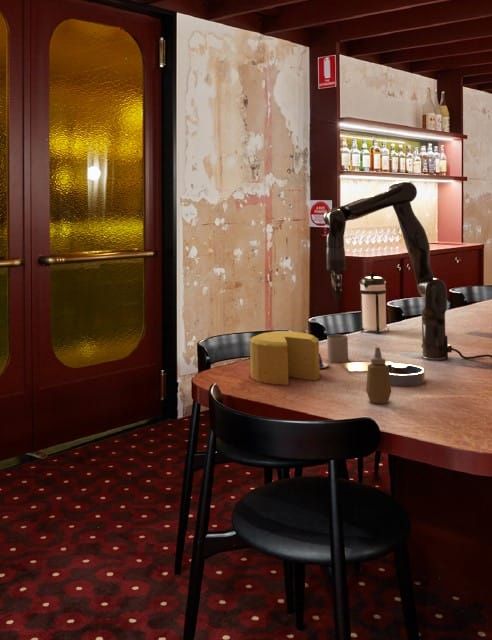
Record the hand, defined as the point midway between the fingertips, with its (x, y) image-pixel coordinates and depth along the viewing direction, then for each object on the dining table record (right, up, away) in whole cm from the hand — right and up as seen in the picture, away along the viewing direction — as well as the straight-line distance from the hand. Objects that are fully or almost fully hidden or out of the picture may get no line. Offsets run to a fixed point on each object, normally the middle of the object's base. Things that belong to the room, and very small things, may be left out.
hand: (337, 298), depth 292 cm
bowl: (+17, -26, -30) cm, 43 cm away
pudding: (-10, -27, -3) cm, 29 cm away
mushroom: (+17, -26, -30) cm, 43 cm away
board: (+12, -26, -9) cm, 30 cm away
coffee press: (+33, -27, +71) cm, 83 cm away
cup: (+2, -27, +7) cm, 28 cm away
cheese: (-23, -27, -17) cm, 40 cm away
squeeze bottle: (+2, -27, -55) cm, 61 cm away
